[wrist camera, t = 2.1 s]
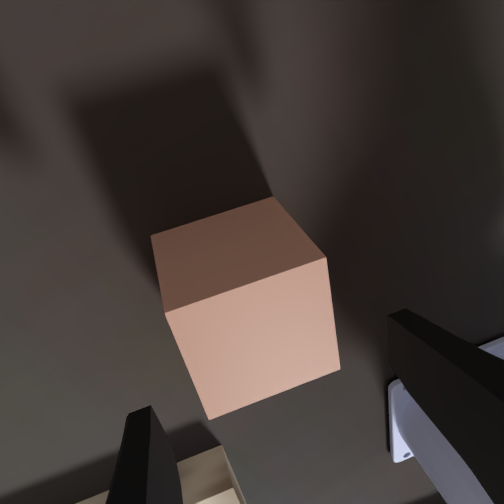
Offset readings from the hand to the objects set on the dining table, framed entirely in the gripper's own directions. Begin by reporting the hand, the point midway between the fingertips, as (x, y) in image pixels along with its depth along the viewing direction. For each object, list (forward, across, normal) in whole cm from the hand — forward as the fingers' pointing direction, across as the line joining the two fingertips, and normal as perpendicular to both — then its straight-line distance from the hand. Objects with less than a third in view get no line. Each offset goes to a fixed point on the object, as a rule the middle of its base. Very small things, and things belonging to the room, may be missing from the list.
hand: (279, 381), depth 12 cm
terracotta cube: (+7, 0, 0) cm, 7 cm away
